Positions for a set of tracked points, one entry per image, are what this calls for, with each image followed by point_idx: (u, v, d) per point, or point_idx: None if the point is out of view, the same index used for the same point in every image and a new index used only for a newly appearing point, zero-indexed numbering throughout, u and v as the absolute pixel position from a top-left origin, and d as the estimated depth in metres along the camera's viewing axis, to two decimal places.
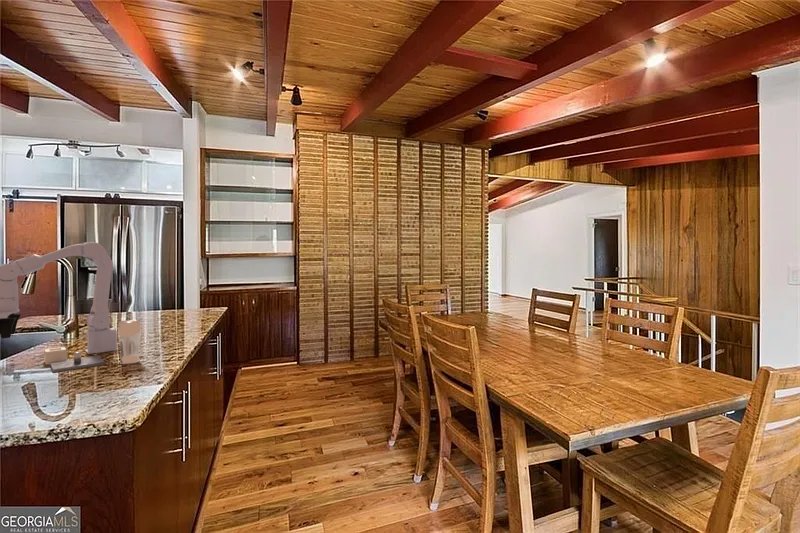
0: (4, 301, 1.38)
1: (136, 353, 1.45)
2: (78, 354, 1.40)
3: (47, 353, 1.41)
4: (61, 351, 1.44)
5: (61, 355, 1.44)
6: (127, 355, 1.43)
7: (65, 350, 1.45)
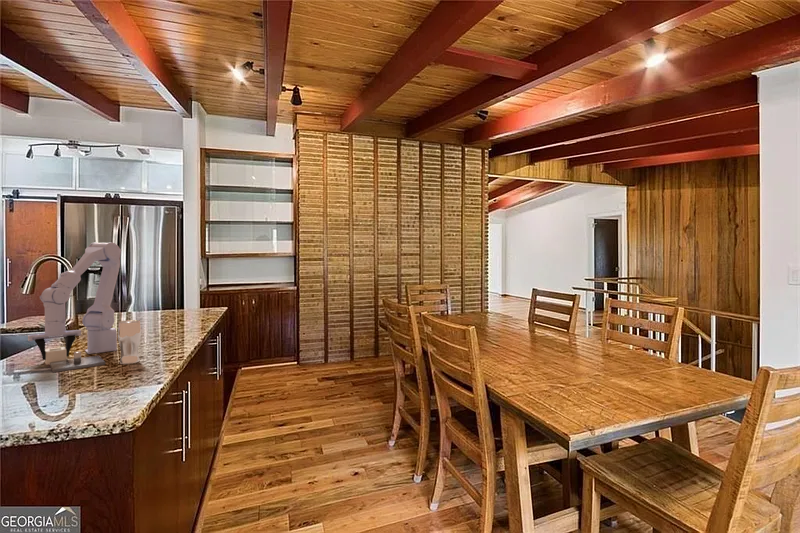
0: None
1: (136, 353, 1.45)
2: (78, 354, 1.40)
3: (47, 353, 1.41)
4: (61, 351, 1.44)
5: (61, 355, 1.44)
6: (127, 355, 1.43)
7: (65, 350, 1.45)
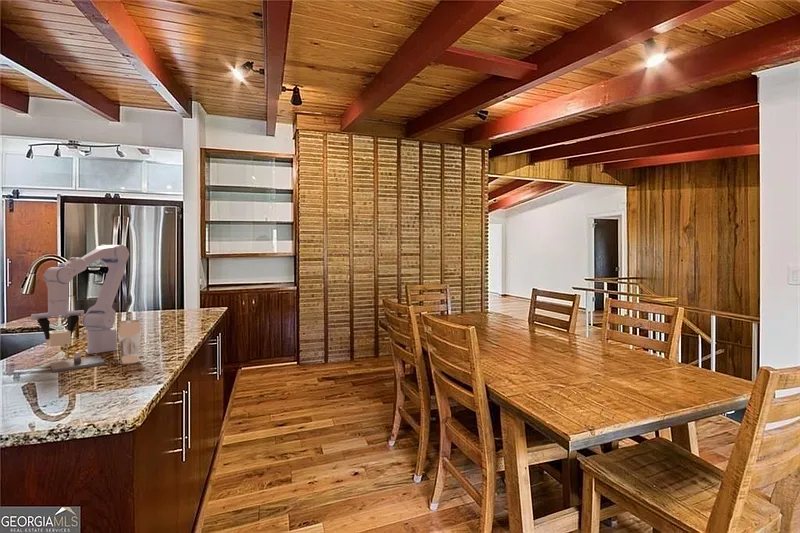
0: (48, 303, 1.41)
1: (136, 353, 1.45)
2: (78, 354, 1.40)
3: (52, 335, 1.40)
4: (65, 333, 1.43)
5: (65, 337, 1.43)
6: (127, 355, 1.43)
7: (69, 332, 1.44)
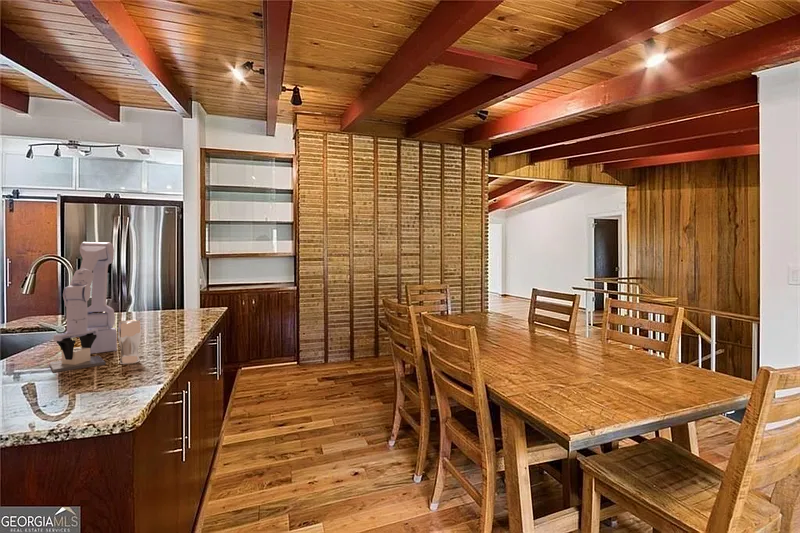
0: (68, 323, 1.38)
1: (136, 353, 1.45)
2: None
3: (76, 353, 1.38)
4: (86, 350, 1.42)
5: (86, 354, 1.42)
6: (127, 355, 1.43)
7: (89, 349, 1.43)
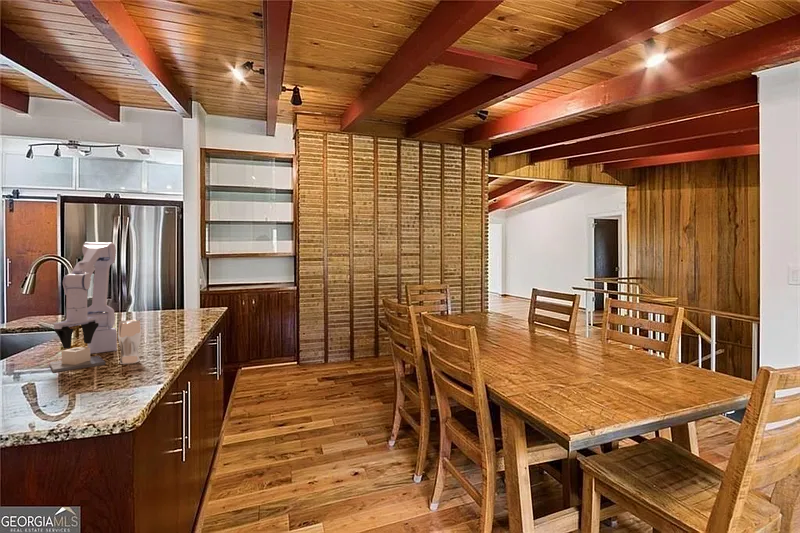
0: (68, 311, 1.38)
1: (136, 353, 1.45)
2: None
3: (76, 353, 1.38)
4: (86, 350, 1.42)
5: (86, 354, 1.42)
6: (127, 355, 1.43)
7: (89, 349, 1.43)
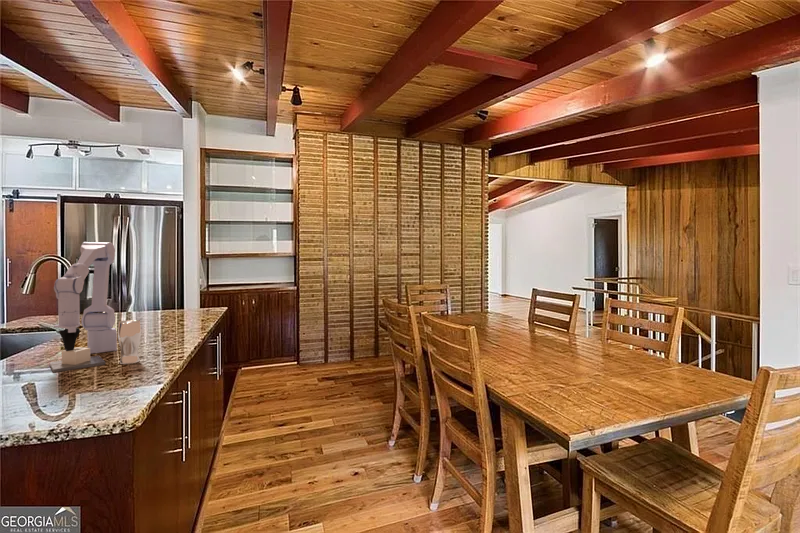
0: (69, 315, 1.37)
1: (136, 353, 1.45)
2: None
3: (76, 353, 1.38)
4: (86, 350, 1.42)
5: (86, 354, 1.42)
6: (127, 355, 1.43)
7: (89, 349, 1.43)
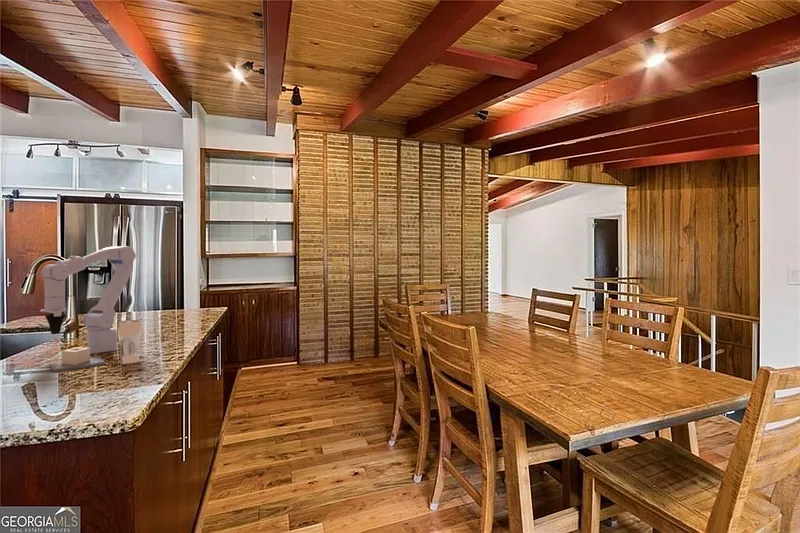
0: (54, 300, 1.43)
1: (136, 353, 1.45)
2: None
3: (76, 353, 1.38)
4: (86, 350, 1.42)
5: (86, 354, 1.42)
6: (127, 355, 1.43)
7: (89, 349, 1.43)
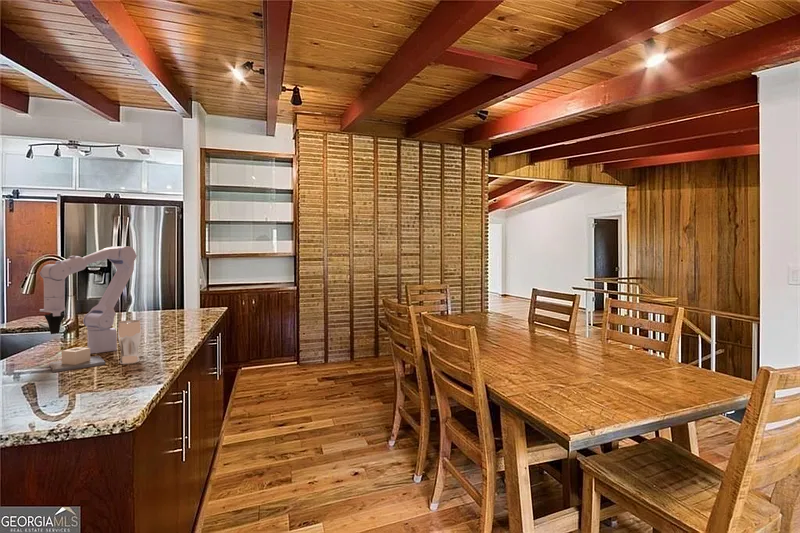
0: (54, 300, 1.44)
1: (136, 353, 1.45)
2: None
3: (76, 353, 1.38)
4: (86, 350, 1.42)
5: (86, 354, 1.42)
6: (127, 355, 1.43)
7: (89, 349, 1.43)
